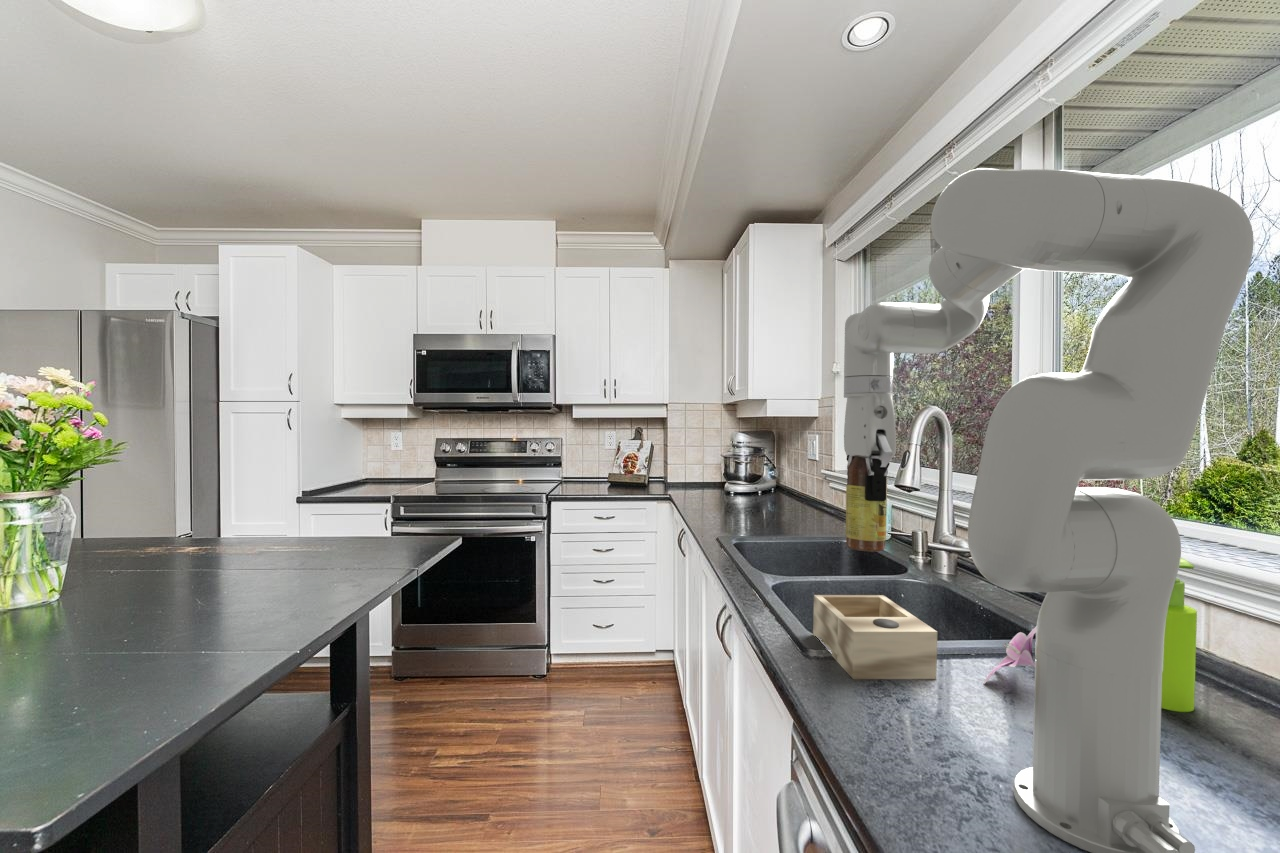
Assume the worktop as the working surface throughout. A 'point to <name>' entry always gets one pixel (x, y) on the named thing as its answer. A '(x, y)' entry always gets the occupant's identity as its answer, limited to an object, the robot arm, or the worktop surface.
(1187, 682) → the soap dispenser
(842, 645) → the caddy
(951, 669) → the worktop surface
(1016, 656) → the lily
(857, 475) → the sauce bottle
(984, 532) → the robot arm
